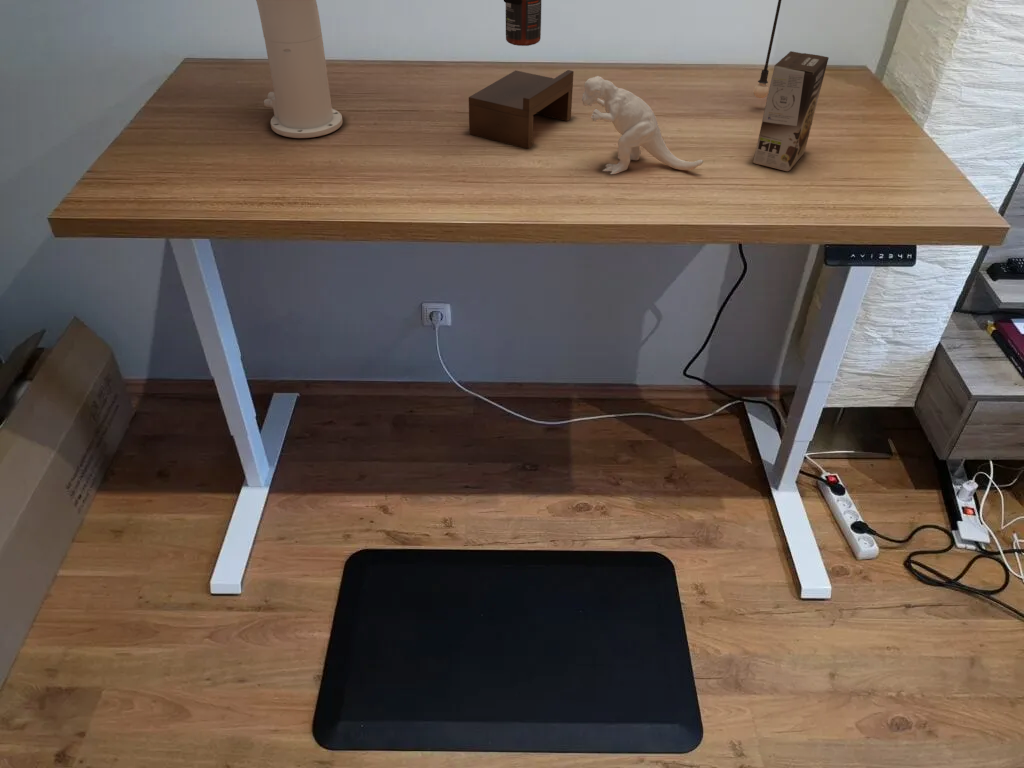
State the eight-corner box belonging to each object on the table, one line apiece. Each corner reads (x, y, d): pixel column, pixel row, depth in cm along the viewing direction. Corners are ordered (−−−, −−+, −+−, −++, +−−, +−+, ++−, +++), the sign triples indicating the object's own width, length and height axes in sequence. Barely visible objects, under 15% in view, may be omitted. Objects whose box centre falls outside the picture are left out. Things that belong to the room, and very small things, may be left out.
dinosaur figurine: (575, 172, 131) (581, 80, 121) (583, 148, 138) (589, 60, 129) (700, 184, 128) (716, 91, 118) (701, 159, 135) (716, 69, 126)
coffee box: (789, 172, 131) (814, 72, 121) (751, 163, 134) (772, 64, 124) (805, 153, 137) (830, 56, 127) (769, 144, 140) (790, 48, 130)
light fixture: (732, 107, 153) (759, -38, 137) (755, 99, 156) (784, -43, 140) (759, 118, 149) (790, -30, 133) (782, 110, 152) (816, -35, 136)
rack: (469, 134, 142) (468, 85, 137) (515, 105, 153) (515, 59, 147) (528, 148, 138) (529, 99, 132) (571, 118, 148) (573, 70, 143)
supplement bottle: (546, 39, 137) (548, -34, 129) (532, 49, 133) (533, -26, 125) (514, 34, 139) (515, -38, 131) (499, 44, 134) (499, -31, 127)
